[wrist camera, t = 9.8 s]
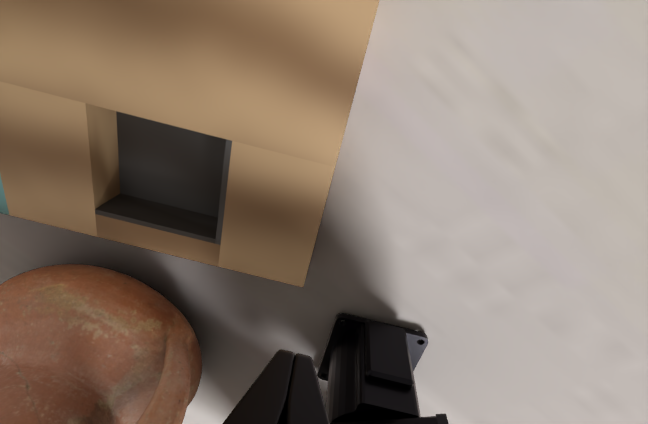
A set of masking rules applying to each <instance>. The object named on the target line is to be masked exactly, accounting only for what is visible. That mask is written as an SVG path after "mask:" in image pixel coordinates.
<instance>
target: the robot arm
mask: <svg viewBox="0 0 648 424" xmlns="http://www.w3.org/2000/svg"><path fill="white" fill-rule="evenodd" d="M341 320H344V322H342V321H341ZM420 339H421V340H420ZM427 344H428V338H427V335H426V334H425V333H422V332H418V331H414V330H410V329H406V328H402V327H398V326H394V325H389V324H385V323H381V322H377V321H373V320H369V319H365V318H361V317H357V316H353V315H349V314H344V313H341V314H338V315H337V316H336V318H335V321H334V324H333V327H332V330H331V333H330V336H329V339H328V342H327V345H326V347H325V350H324V353H323V356H322V359H321V362H320V365H319V368H318V375H316V371H315V367H314V364H313V360H312V358H311V357H310V356H307V355H303V354H296V355H295V354H294V353H293V352H290V351H286V350H282V349H281V350H279V351H278V352H277V353H276V354H275V355H274V357H273V358H272V359H271V361H270V362H269V363H268V365H267V366H266V367H265V369H264V370H263V371H262V373H261V374H260V375H259V376H258V378H257V379H256V380H255V382H254V383H253V384H252V386H251V387H250V388H249V390H248V391H247V392H246V394H245V395H244V396H243V398H242V399H241V400H240V402H239V403H238V404H237V405H236V407H235V408H234V409H233V411H232V412H231V413H230V415H229V416H228V417H227V419H226V420H225V421H224V423H223V424H448V420H447V417H446V414H436V416H431V417H421V416H420V410H419V404H418V398H417V392H416V387H415V381H414V375H413V371H414V369H415V367H416V365H417V363H418V361H419V359H420V358H421V356H422V354H423V352H424V350H425V348H426V346H427ZM317 376H318V377H319V378H320V379H322V380H326V381H328V388H327V400H326V409H325V405H324V401H323V397H322V394H321V390H320V386H319V382H318V379H317Z"/></svg>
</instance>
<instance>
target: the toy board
mask: <svg viewBox="0 0 648 424" xmlns="http://www.w3.org/2000/svg"><path fill="white" fill-rule="evenodd" d="M378 3H379V0H0V213H3V214H7V215H11V216H15V217H19V218H23V219H27V220H31V221H35V222H39V223H43V224H47V225H51V226H55V227H59V228H64V229H68V230H72V231H76V232H80V233H84V234H88V235H92V236H96V237H100V238H104V239H108V240H112V241H116V242H120V243H124V244H128V245H133V246H137V247H141V248H145V249H149V250H153V251H157V252H161V253H165V254H169V255H173V256H177V257H181V258H185V259H189V260H193V261H198V262H202V263H206V264H210V265H214V266H218V267H222V268H226V269H230V270H234V271H238V272H242V273H246V274H250V275H254V276H258V277H263V278H267V279H271V280H275V281H279V282H283V283H287V284H291V285H295V286H299V287H303V286H304V283H305V279H306V275H307V271H308V268H309V264H310V260H311V256H312V252H313V249H314V245H315V241H316V237H317V234H318V230H319V226H320V222H321V218H322V215H323V211H324V207H325V203H326V200H327V196H328V192H329V188H330V185H331V181H332V177H333V173H334V169H335V166H336V162H337V158H338V154H339V151H340V147H341V143H342V139H343V135H344V132H345V128H346V124H347V120H348V117H349V113H350V109H351V105H352V102H353V98H354V94H355V90H356V86H357V83H358V79H359V75H360V71H361V68H362V64H363V60H364V56H365V53H366V49H367V45H368V41H369V37H370V34H371V30H372V26H373V22H374V19H375V15H376V11H377V7H378Z"/></svg>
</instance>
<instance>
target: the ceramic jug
mask: <svg viewBox="0 0 648 424" xmlns="http://www.w3.org/2000/svg"><path fill="white" fill-rule="evenodd" d="M201 373H202V357H201V350H200V346H199V343H198V340H197V337H196V335H195V332H194V330H193V329H192V327H191V325H190V324H189V323H188V321H187V319H186V318H185V317H184V315H183V314H182V313H181V312H180V311H179V310H178V309H177V308H176V307H175V306H174V305H173V304H172V303H171V302H170V301H169V300H167V299H166V298H165V297H164V296H162V295H161V294H160V293H158V292H157V291H155V290H154V289H152V288H151V287H149V286H148V285H146V284H144V283H142V282H141V281H139V280H137V279H135V278H133V277H130V276H128V275H126V274H123V273H120V272H117V271H114V270H111V269H107V268H102V267H98V266H91V265H82V264H62V265H52V266H46V267H41V268H37V269H34V270H30V271H28V272H25V273H22V274H20V275H17V276H15V277H13V278H11V279H9V280H7V281H5V282H4V283H3V284H1V285H0V424H182V422H183V419H184V416H185V412H186V408H187V406H188V405H189V404H190V402H191V401H192V399H193V398H194V396H195V394H196V392H197V389H198V386H199V383H200V379H201Z"/></svg>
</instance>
